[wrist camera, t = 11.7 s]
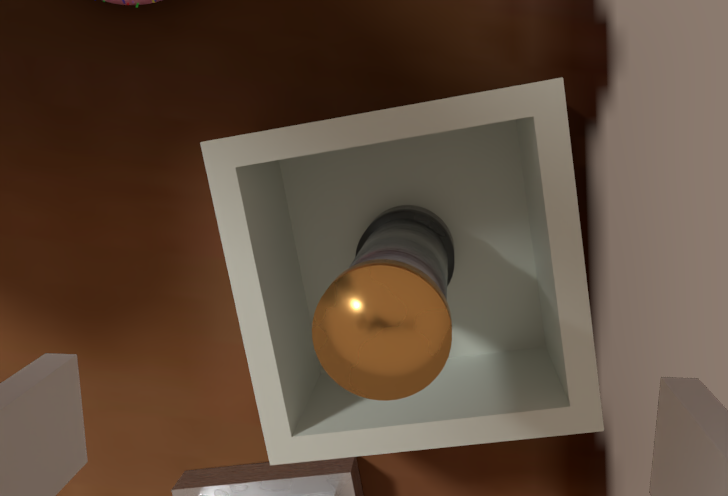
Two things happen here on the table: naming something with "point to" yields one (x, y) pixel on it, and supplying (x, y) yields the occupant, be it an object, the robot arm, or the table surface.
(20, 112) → the table surface
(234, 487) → the grey square socket base
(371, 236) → the gold topped grey cylinder
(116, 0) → the doughnut
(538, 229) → the bin
